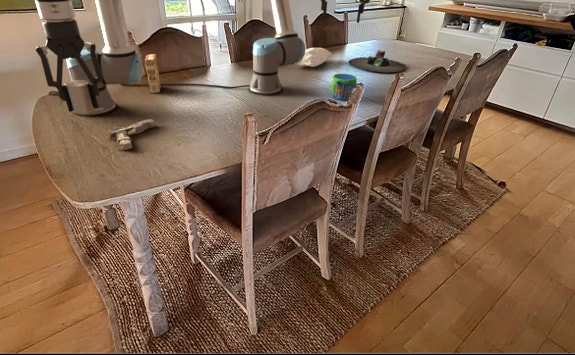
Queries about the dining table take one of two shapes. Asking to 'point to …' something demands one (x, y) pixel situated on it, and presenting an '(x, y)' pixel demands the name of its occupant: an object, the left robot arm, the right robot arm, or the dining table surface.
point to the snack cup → (343, 86)
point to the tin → (80, 96)
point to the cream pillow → (314, 57)
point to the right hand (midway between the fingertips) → (340, 21)
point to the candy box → (152, 73)
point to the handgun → (129, 132)
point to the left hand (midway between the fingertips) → (83, 108)
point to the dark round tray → (377, 63)
